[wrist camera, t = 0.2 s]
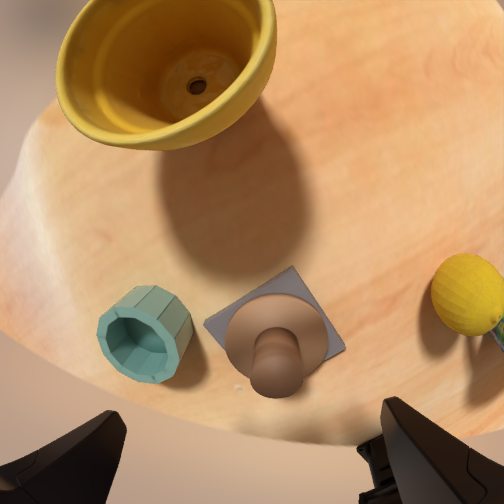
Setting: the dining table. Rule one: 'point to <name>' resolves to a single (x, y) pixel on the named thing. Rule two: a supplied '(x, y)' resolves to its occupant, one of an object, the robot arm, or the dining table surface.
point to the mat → (280, 284)
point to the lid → (276, 342)
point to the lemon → (468, 294)
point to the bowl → (146, 334)
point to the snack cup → (499, 333)
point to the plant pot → (164, 69)
